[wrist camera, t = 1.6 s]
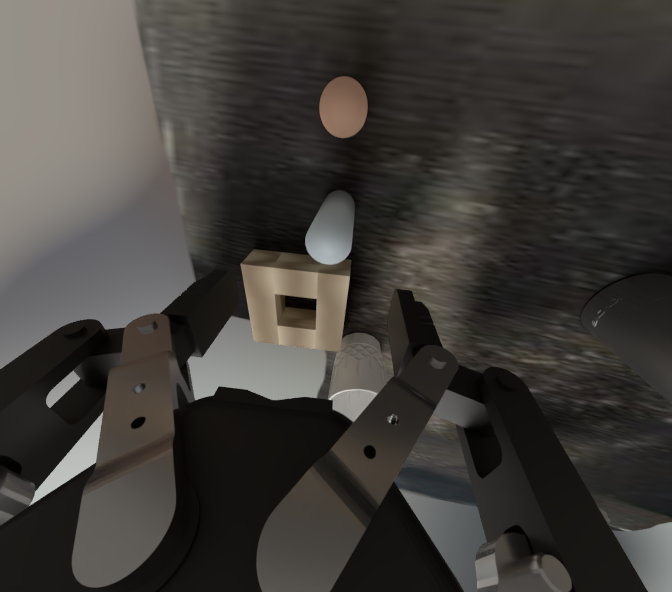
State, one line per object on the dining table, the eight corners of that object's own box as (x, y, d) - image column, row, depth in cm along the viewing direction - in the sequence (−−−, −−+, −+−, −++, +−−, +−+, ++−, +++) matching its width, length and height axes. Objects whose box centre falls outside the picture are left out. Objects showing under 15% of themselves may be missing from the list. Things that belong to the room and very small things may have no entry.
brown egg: (369, 89, 20) (371, 78, 16) (363, 138, 22) (363, 140, 18) (328, 85, 20) (320, 74, 16) (326, 134, 22) (318, 135, 18)
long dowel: (356, 192, 24) (354, 222, 16) (352, 224, 26) (349, 266, 18) (324, 188, 24) (305, 217, 16) (322, 221, 26) (305, 261, 18)
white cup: (376, 367, 40) (381, 428, 32) (330, 359, 39) (323, 418, 31) (391, 334, 35) (400, 396, 27) (339, 324, 35) (332, 384, 27)
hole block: (351, 259, 29) (350, 276, 25) (342, 331, 36) (340, 351, 32) (254, 249, 29) (240, 264, 26) (263, 322, 36) (254, 341, 33)
